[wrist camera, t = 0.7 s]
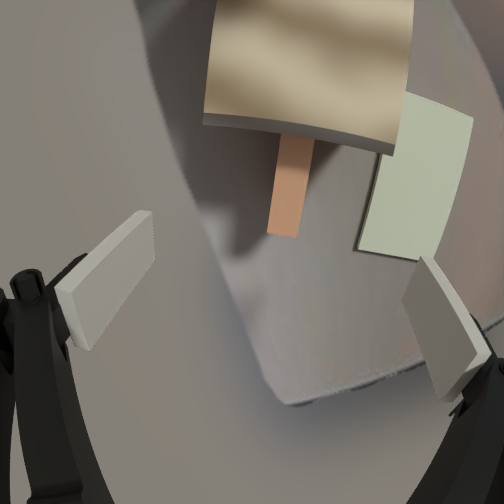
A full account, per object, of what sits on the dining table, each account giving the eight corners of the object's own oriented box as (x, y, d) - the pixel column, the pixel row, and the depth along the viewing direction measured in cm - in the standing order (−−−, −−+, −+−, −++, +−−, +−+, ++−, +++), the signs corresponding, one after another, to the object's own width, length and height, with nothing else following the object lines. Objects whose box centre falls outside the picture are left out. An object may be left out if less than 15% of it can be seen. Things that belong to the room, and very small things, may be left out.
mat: (392, 88, 24) (394, 87, 23) (470, 117, 23) (473, 118, 23) (356, 246, 33) (358, 249, 32) (429, 259, 32) (431, 262, 32)
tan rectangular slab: (294, 47, 24) (295, 26, 16) (319, 51, 24) (329, 32, 16) (273, 196, 32) (266, 232, 24) (296, 200, 31) (297, 237, 24)
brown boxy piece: (253, -16, 20) (229, -70, 10) (372, 4, 20) (413, -39, 9) (236, 114, 28) (202, 124, 17) (355, 134, 27) (392, 156, 17)
